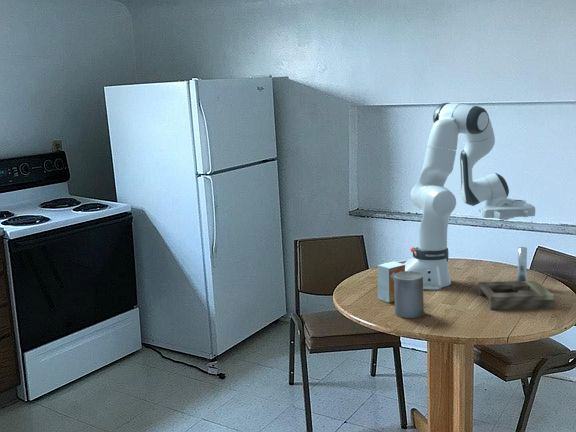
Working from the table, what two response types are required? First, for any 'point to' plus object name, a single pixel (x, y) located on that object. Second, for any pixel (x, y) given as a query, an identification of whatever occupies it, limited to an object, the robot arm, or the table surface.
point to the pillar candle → (408, 294)
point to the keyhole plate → (516, 295)
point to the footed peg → (522, 263)
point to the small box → (388, 280)
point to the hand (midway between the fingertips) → (513, 215)
